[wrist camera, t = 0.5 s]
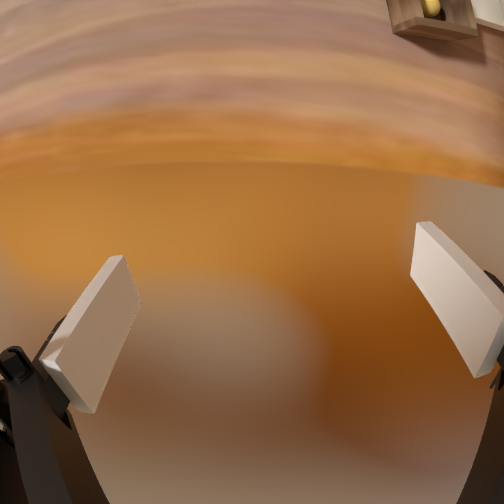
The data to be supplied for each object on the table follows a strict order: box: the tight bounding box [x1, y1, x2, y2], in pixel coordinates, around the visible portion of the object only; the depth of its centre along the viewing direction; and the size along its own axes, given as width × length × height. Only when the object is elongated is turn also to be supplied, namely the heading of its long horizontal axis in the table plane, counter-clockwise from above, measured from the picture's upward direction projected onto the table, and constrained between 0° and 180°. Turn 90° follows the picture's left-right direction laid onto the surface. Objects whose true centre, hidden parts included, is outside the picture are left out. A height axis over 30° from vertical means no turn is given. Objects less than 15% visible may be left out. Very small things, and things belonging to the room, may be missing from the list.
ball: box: [420, 0, 440, 17], centre depth 24 cm, size 4×4×4 cm
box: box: [386, 0, 479, 41], centre depth 23 cm, size 9×9×7 cm
